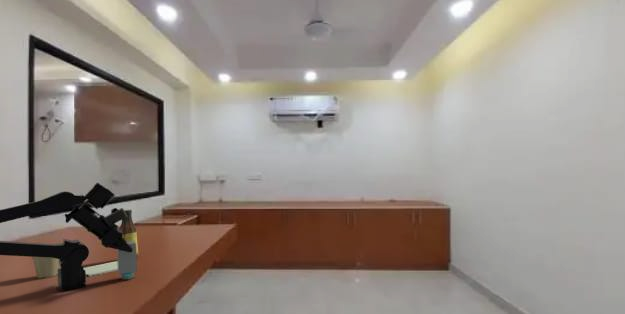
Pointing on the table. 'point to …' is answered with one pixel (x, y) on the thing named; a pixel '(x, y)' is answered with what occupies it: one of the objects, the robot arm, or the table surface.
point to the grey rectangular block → (127, 259)
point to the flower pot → (46, 266)
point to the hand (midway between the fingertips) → (131, 250)
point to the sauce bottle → (129, 229)
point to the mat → (101, 268)
